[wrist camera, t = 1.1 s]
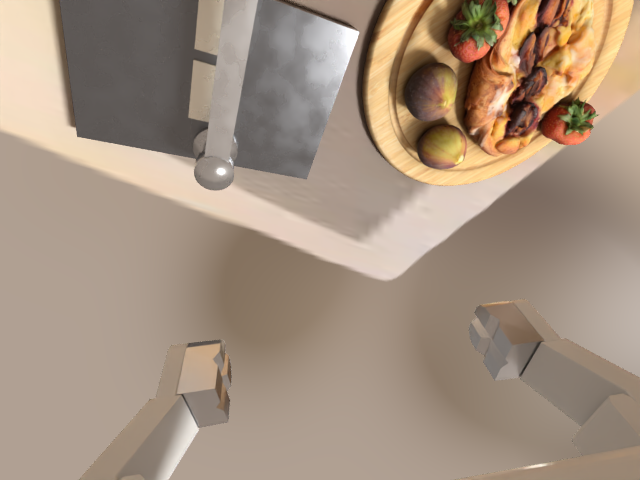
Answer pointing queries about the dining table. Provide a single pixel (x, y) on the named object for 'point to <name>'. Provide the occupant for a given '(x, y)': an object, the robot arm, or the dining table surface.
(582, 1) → the wooden plate with food
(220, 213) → the dining table surface
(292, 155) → the board
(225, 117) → the swing bar
